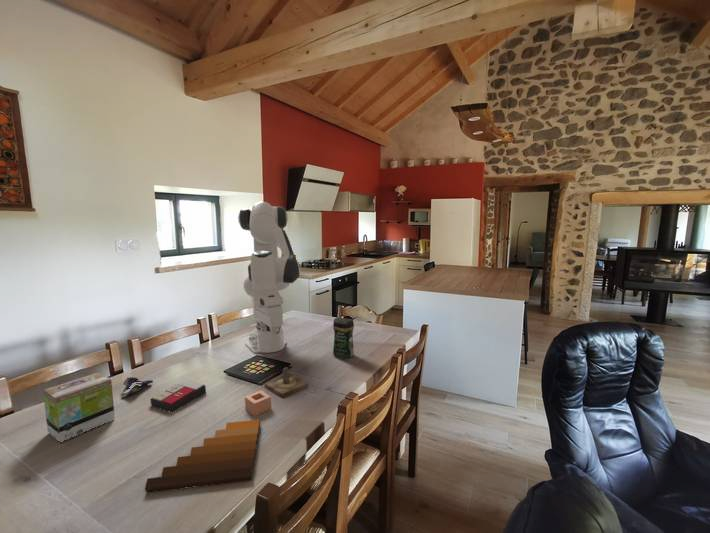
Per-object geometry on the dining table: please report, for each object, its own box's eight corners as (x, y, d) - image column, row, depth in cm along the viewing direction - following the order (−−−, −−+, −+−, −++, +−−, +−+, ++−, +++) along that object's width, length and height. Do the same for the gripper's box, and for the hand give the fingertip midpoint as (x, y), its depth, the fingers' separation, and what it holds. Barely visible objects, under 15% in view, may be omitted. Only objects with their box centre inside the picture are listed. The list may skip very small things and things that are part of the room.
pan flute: (145, 496, 87) (251, 483, 91) (144, 484, 86) (250, 471, 90) (178, 434, 111) (260, 426, 115) (177, 424, 110) (259, 416, 115)
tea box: (60, 444, 105) (54, 398, 103) (47, 433, 110) (41, 389, 108) (116, 420, 118) (111, 378, 116) (102, 411, 123) (97, 370, 121)
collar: (245, 408, 124) (244, 396, 124) (261, 401, 129) (261, 390, 128) (254, 415, 120) (254, 403, 119) (271, 408, 125) (270, 396, 124)
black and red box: (149, 397, 126) (185, 377, 139) (150, 408, 127) (186, 387, 140) (170, 404, 121) (205, 383, 135) (172, 415, 122) (206, 393, 135)
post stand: (264, 386, 140) (264, 367, 139) (290, 376, 148) (289, 358, 147) (282, 397, 132) (281, 377, 130) (308, 386, 140) (307, 367, 139)
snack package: (110, 393, 136) (125, 401, 130) (111, 377, 136) (127, 383, 130) (142, 386, 146) (158, 392, 140) (143, 370, 146) (159, 376, 140)
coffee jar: (330, 356, 169) (330, 319, 166) (339, 351, 176) (338, 314, 173) (348, 360, 165) (348, 322, 162) (356, 354, 171) (356, 317, 169)
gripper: (247, 293, 132) (250, 329, 134) (266, 303, 115) (269, 344, 117) (264, 291, 136) (266, 326, 137) (285, 300, 119) (287, 340, 121)
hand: (268, 334), depth 127 cm, fingers open, 8 cm apart
